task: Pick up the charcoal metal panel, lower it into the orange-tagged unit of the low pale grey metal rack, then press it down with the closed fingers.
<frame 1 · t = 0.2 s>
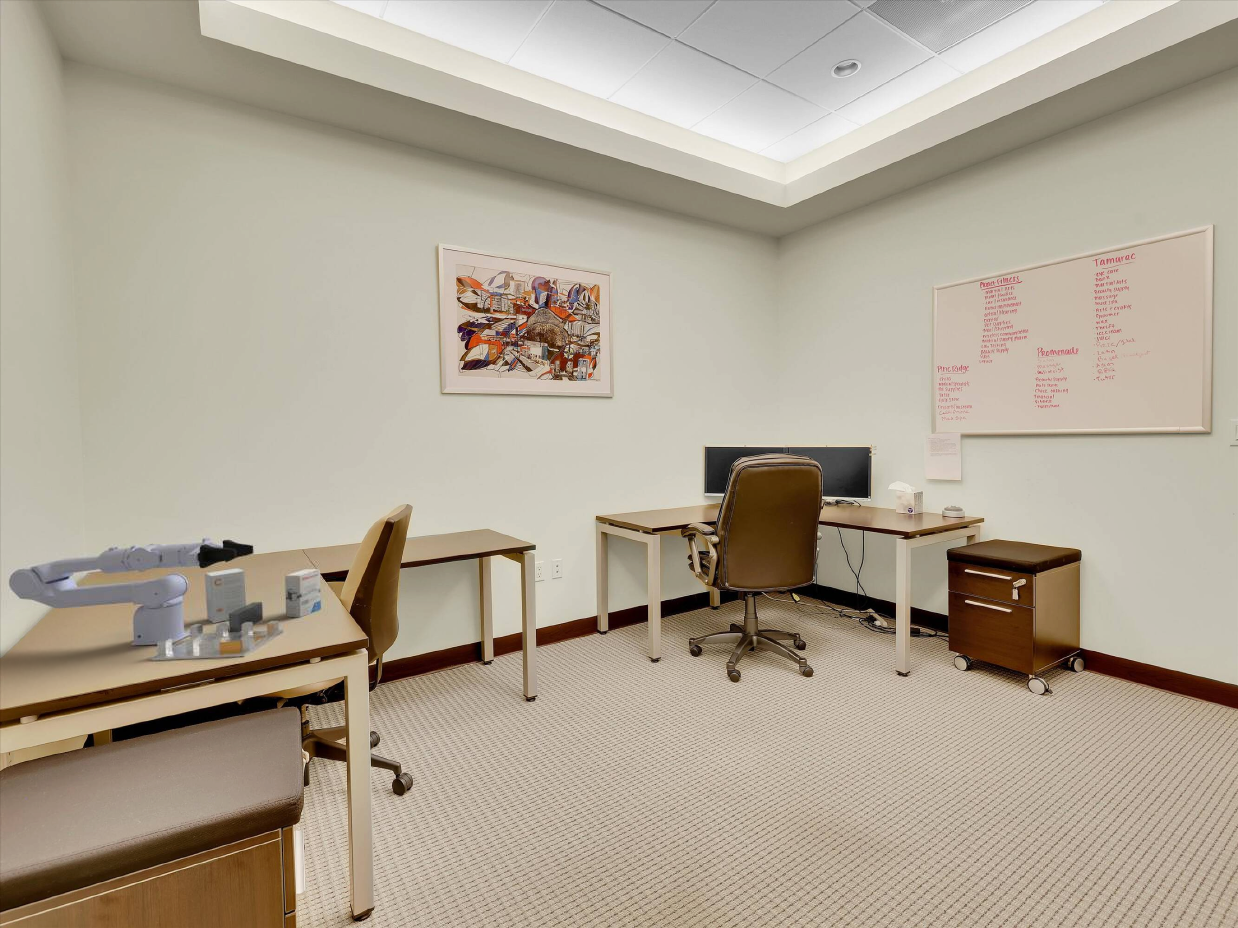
hand: (244, 551, 146), 21 cm above the table, tool horizontal, fingers open, 7 cm apart
small box: (227, 618, 164), on the table
ink box: (304, 613, 167), on the table
panel: (246, 626, 156), on the table
rack: (221, 645, 140), on the table
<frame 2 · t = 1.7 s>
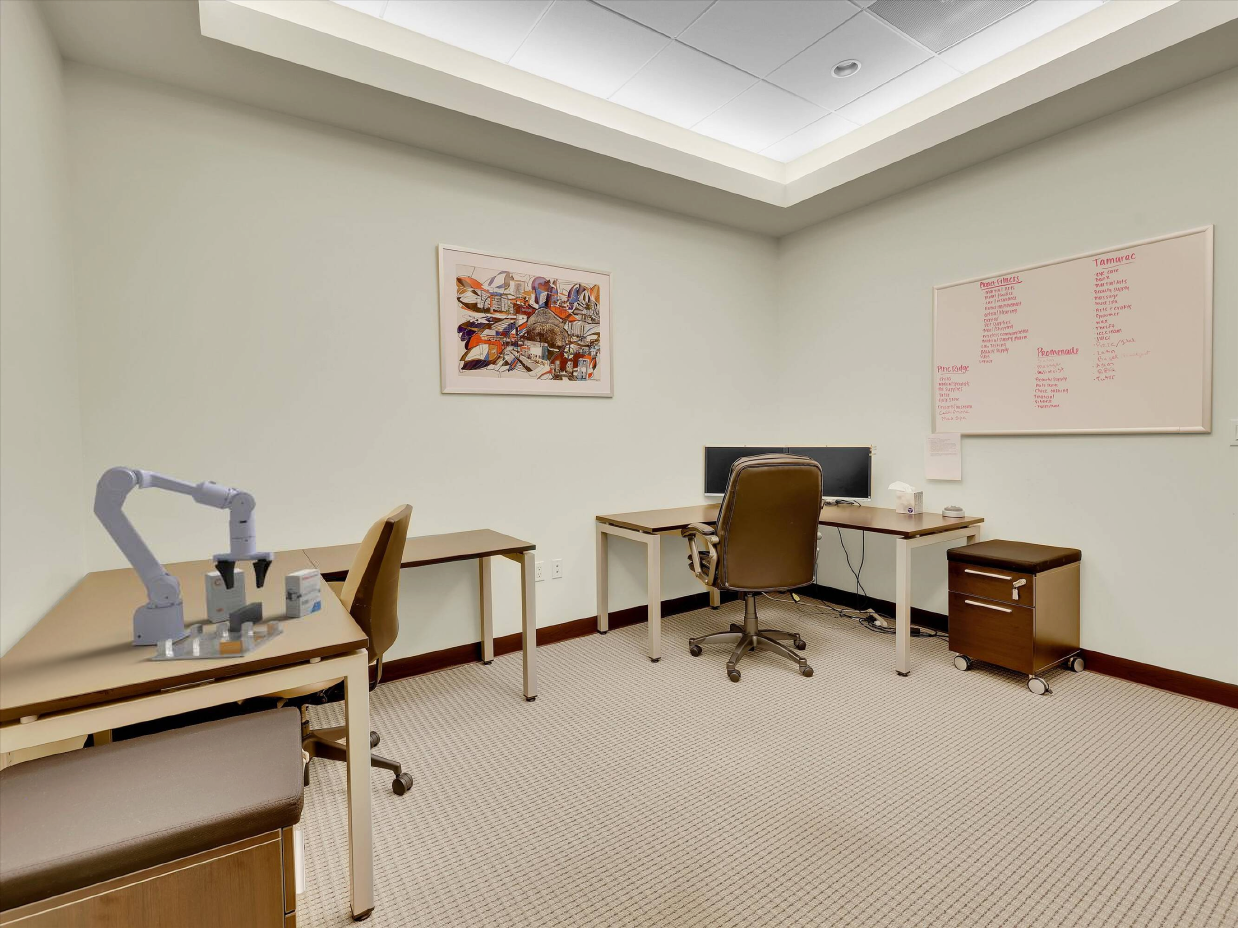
hand: (245, 588, 156), 10 cm above the table, tool pointing down, fingers open, 7 cm apart
nothing on the table moved.
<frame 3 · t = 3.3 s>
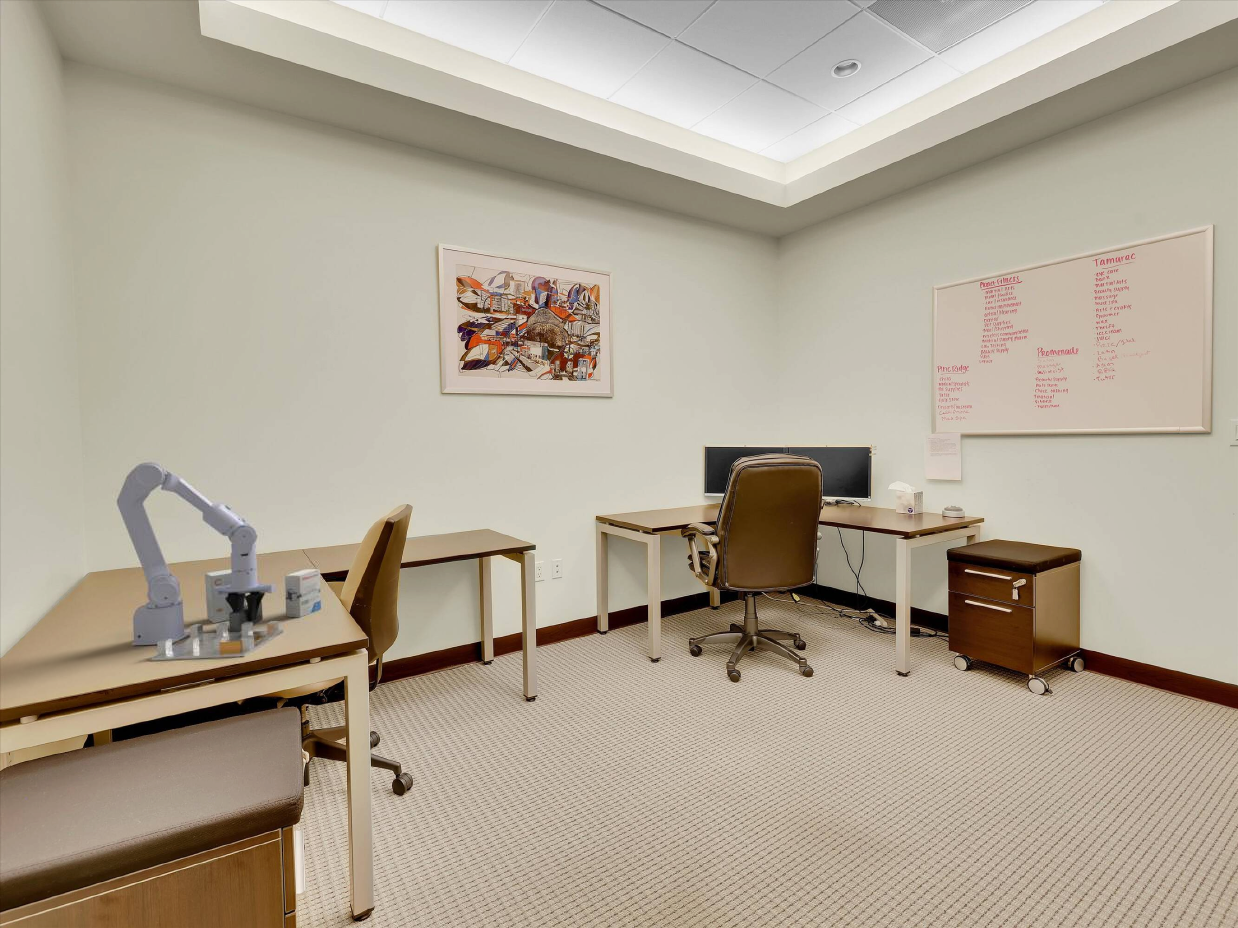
hand: (246, 620, 156), 1 cm above the table, tool pointing down, fingers closed on panel, 3 cm apart
panel: (246, 625, 156), on the table, touching gripper
everything else where it was.
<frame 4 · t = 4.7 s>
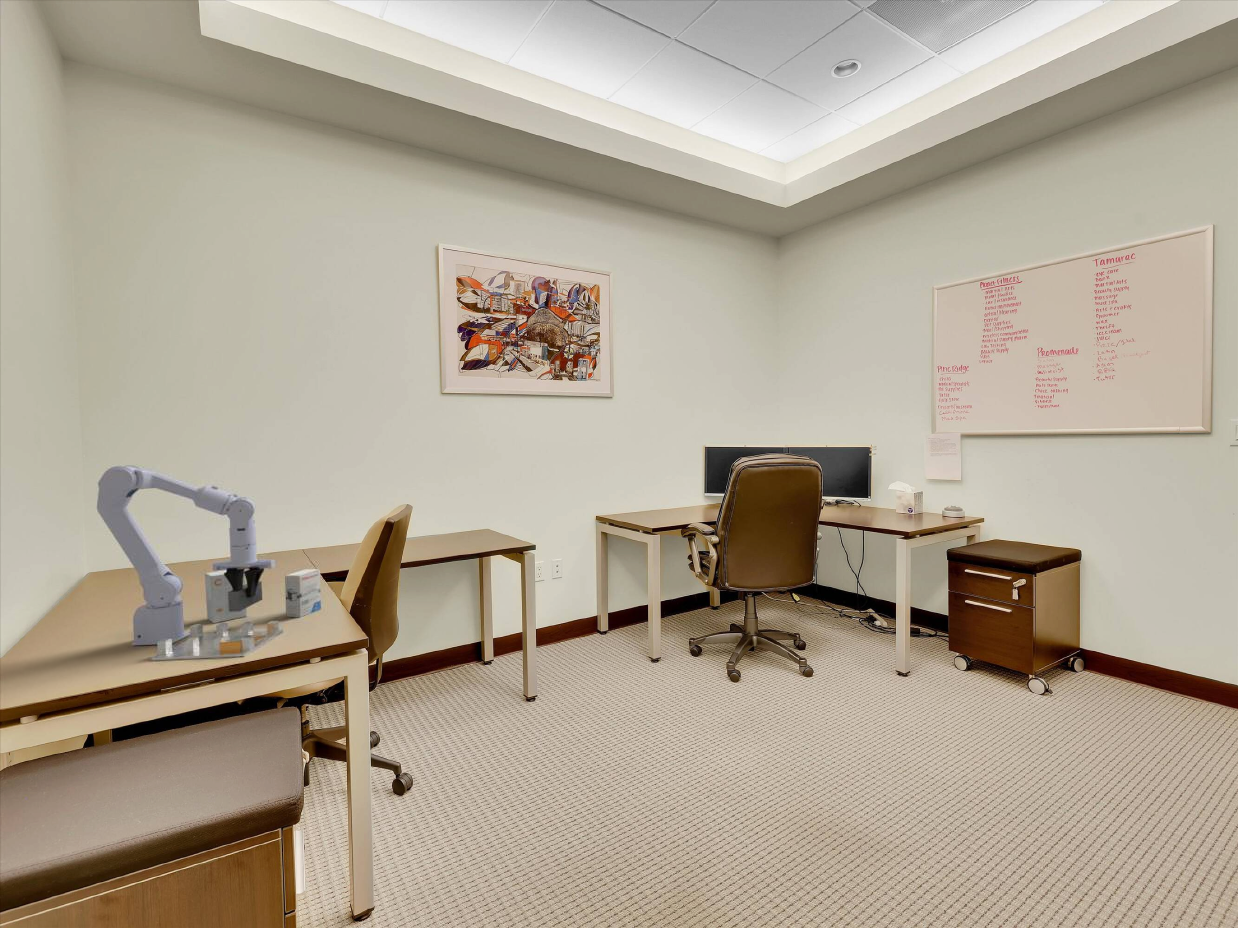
hand: (245, 596, 153), 8 cm above the table, tool pointing down, fingers closed on panel, 2 cm apart
panel: (246, 605, 153), point 6 cm above the table, touching gripper
everything else where it was.
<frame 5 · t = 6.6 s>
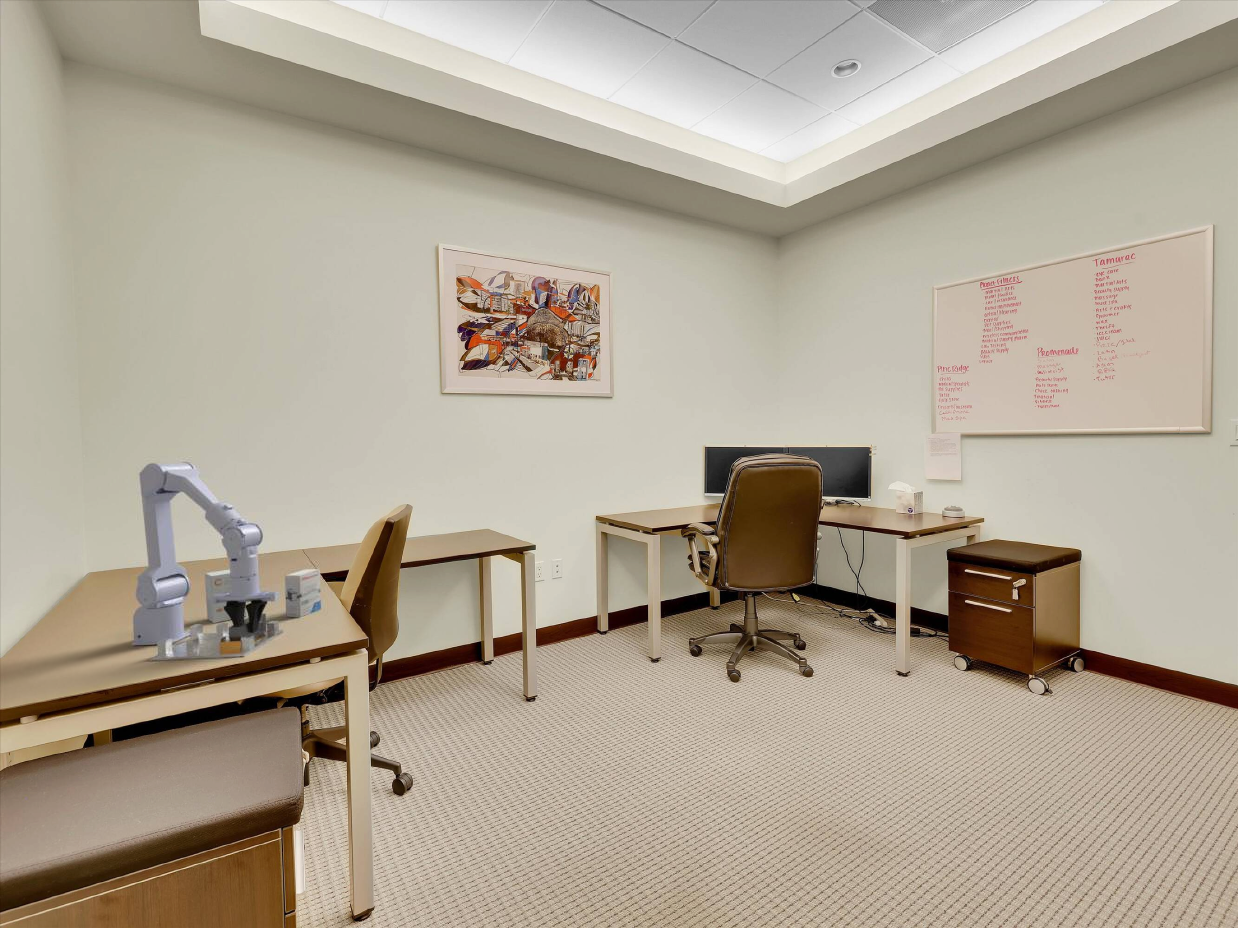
hand: (247, 631, 140), 3 cm above the table, tool pointing down, fingers closed on panel, 2 cm apart
panel: (248, 640, 141), point 1 cm above the table, touching gripper, rack
everything else where it was.
when the fingers open (3 cm above the table, at t = 6.9 s): panel stays where it is, resting on rack.
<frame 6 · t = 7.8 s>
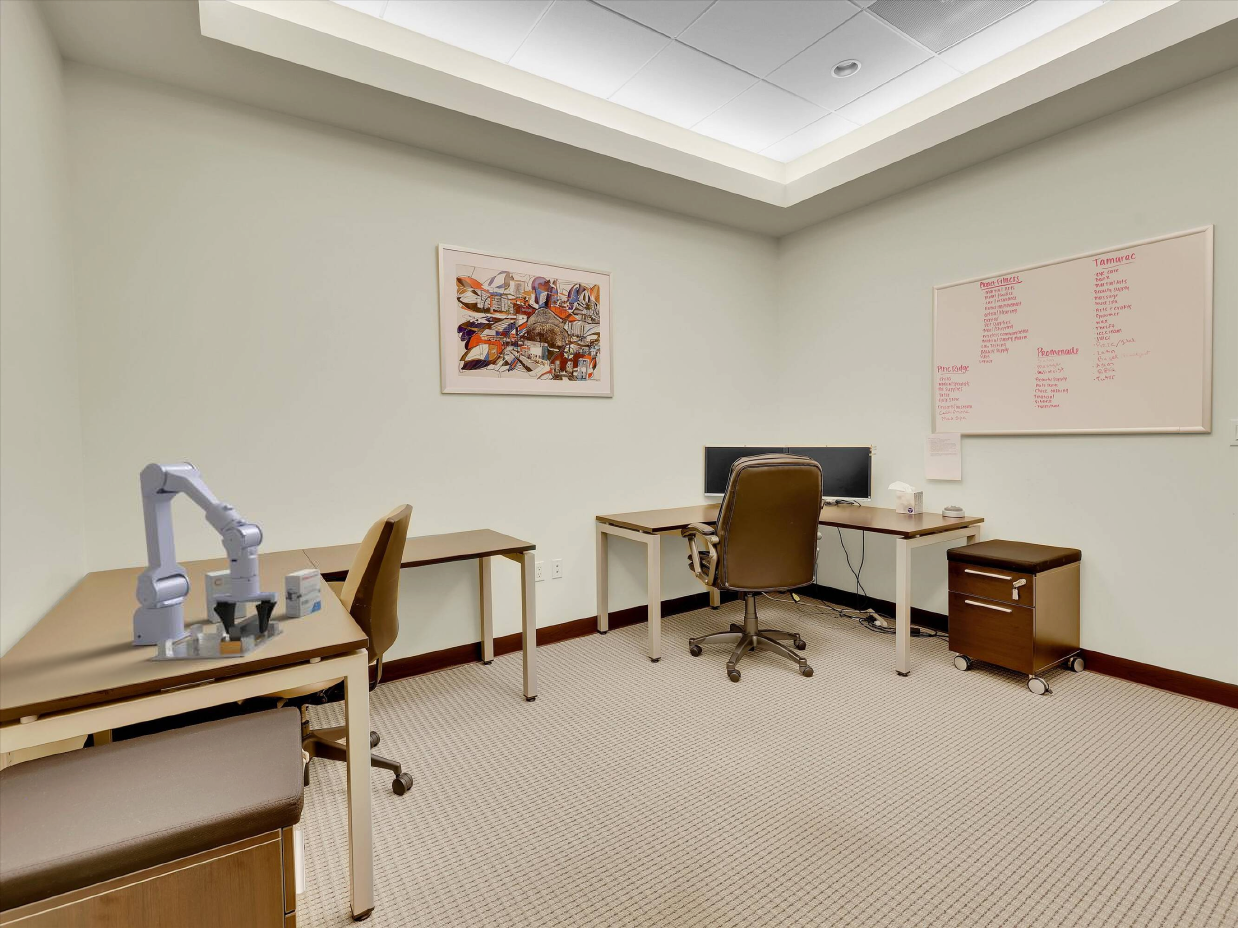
hand: (247, 632, 140), 3 cm above the table, tool pointing down, fingers open, 7 cm apart
panel: (248, 640, 141), point 1 cm above the table, touching rack
everything else where it was.
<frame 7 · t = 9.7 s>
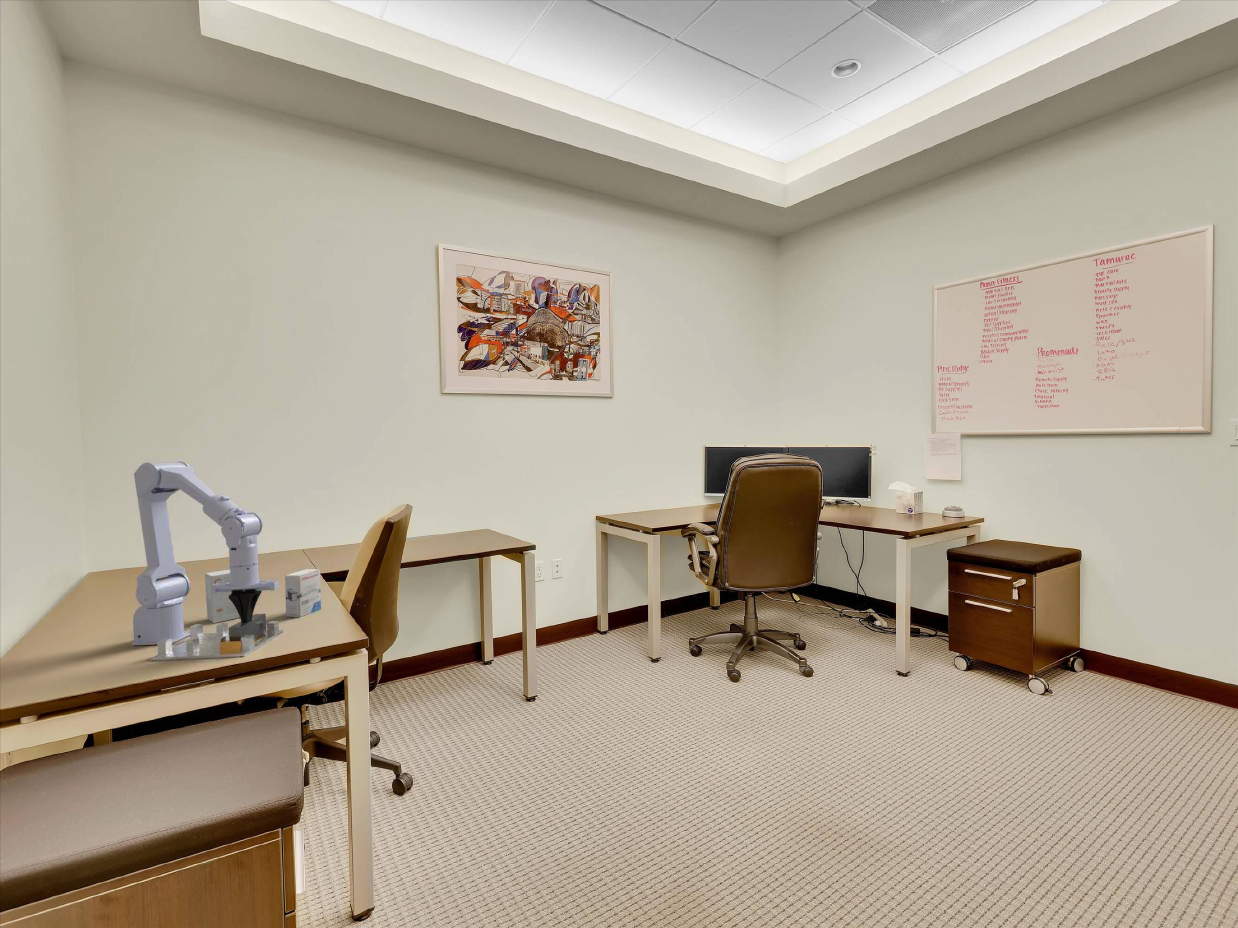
hand: (246, 621, 140), 6 cm above the table, tool pointing down, fingers closed, pressing on panel
panel: (248, 640, 141), point 1 cm above the table, touching gripper, rack
everything else where it was.
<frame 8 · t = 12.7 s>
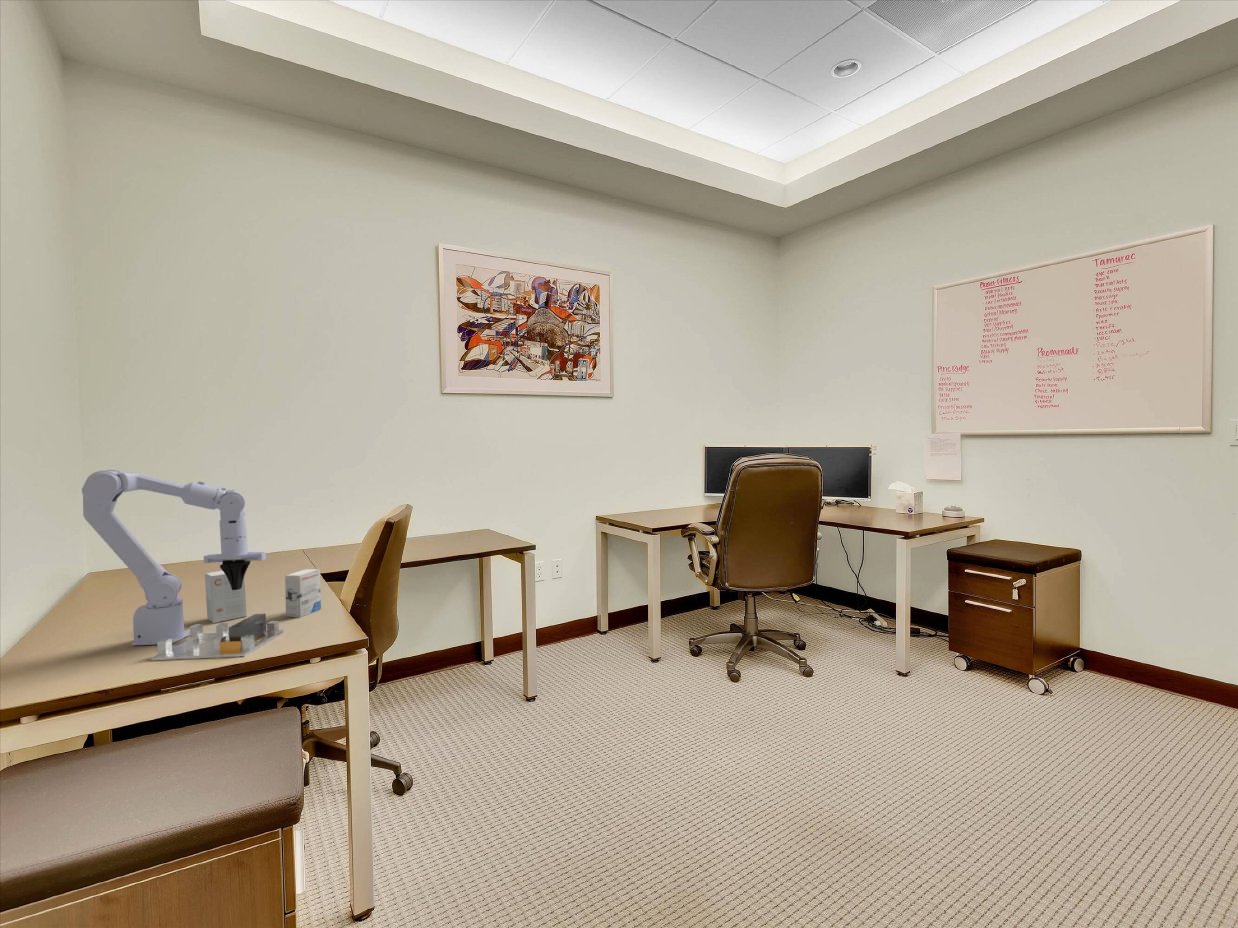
hand: (236, 589, 153), 10 cm above the table, tool pointing down, fingers closed
panel: (248, 640, 141), point 1 cm above the table, touching rack
everything else where it was.
at the end: panel 0.5 cm from the target spot on the rack, point 0.7 cm above the rack's base; panel tilted 0°; the gripper is holding nothing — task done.
